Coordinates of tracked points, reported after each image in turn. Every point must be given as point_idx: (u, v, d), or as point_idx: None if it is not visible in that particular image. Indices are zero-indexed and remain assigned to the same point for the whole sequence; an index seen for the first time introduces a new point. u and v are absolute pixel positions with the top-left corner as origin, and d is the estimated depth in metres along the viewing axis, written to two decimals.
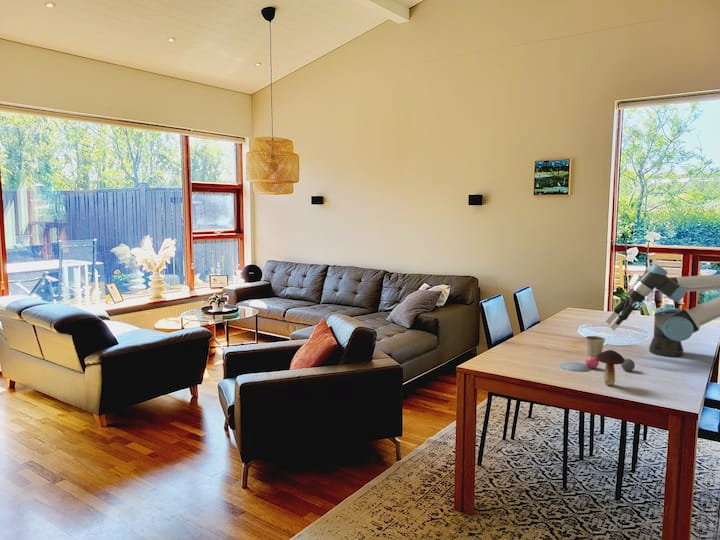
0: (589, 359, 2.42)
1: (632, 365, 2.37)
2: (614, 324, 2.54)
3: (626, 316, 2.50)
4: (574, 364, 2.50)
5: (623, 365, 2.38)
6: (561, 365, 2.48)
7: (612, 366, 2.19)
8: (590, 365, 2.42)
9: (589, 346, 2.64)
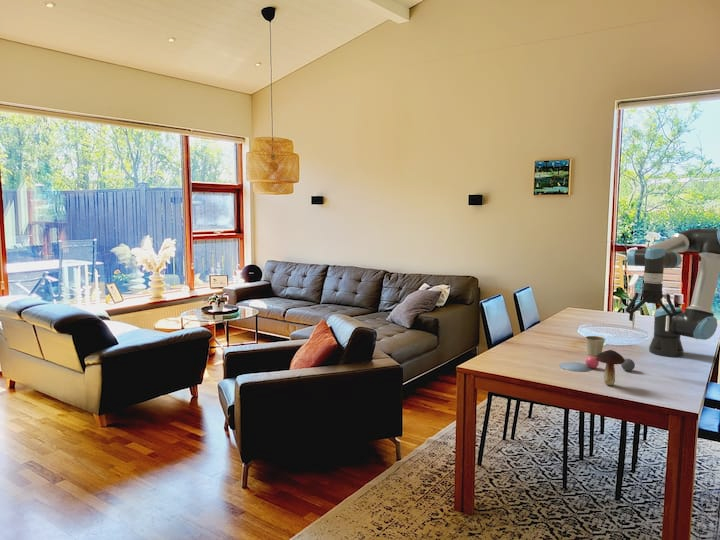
0: (589, 359, 2.42)
1: (632, 365, 2.37)
2: None
3: None
4: (574, 364, 2.50)
5: (623, 365, 2.38)
6: (561, 365, 2.48)
7: (612, 366, 2.19)
8: (590, 365, 2.42)
9: (589, 346, 2.64)
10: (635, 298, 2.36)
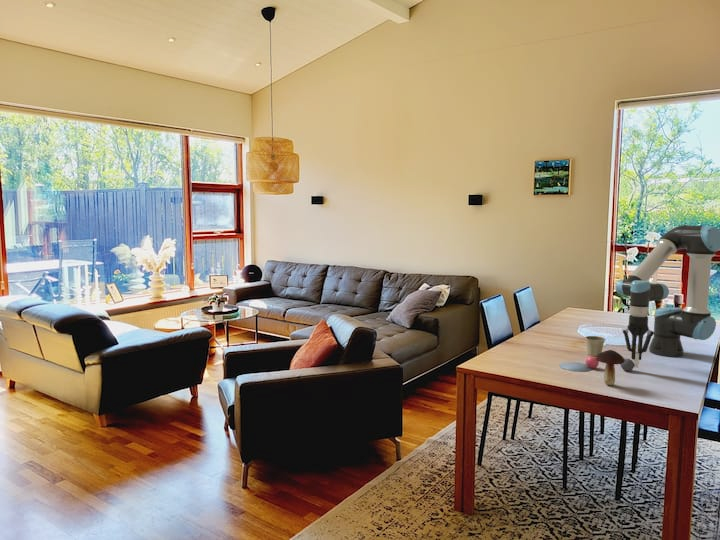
0: (589, 359, 2.42)
1: (631, 365, 2.37)
2: None
3: None
4: (574, 364, 2.50)
5: (622, 365, 2.39)
6: (561, 365, 2.48)
7: (612, 366, 2.19)
8: (590, 365, 2.42)
9: (589, 346, 2.64)
10: (626, 335, 2.37)
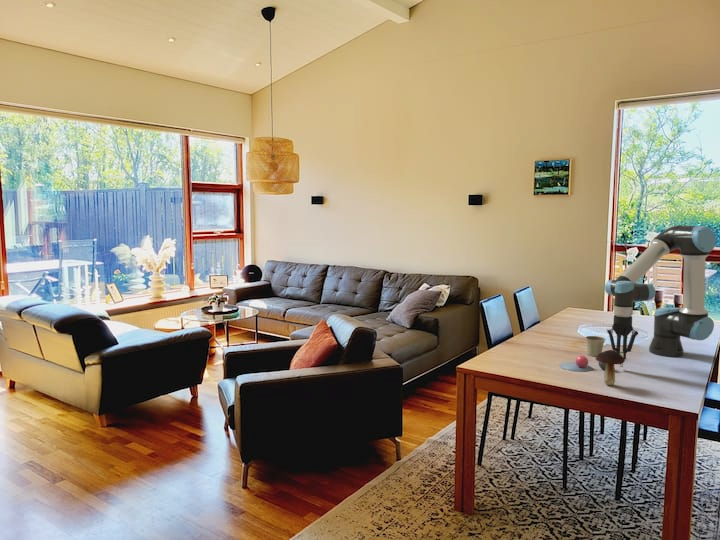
0: (578, 365, 2.44)
1: (602, 366, 2.40)
2: None
3: None
4: (574, 364, 2.50)
5: None
6: (561, 365, 2.48)
7: (612, 366, 2.19)
8: (584, 365, 2.43)
9: (589, 346, 2.64)
10: (611, 335, 2.39)
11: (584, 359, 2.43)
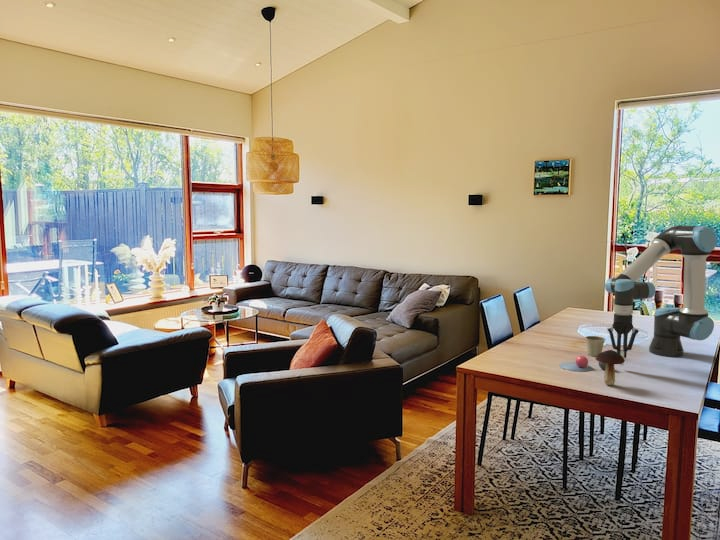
0: (578, 365, 2.44)
1: (602, 366, 2.40)
2: None
3: None
4: (574, 364, 2.50)
5: None
6: (561, 365, 2.48)
7: (612, 366, 2.19)
8: (584, 365, 2.43)
9: (589, 346, 2.64)
10: (611, 334, 2.39)
11: (584, 359, 2.43)
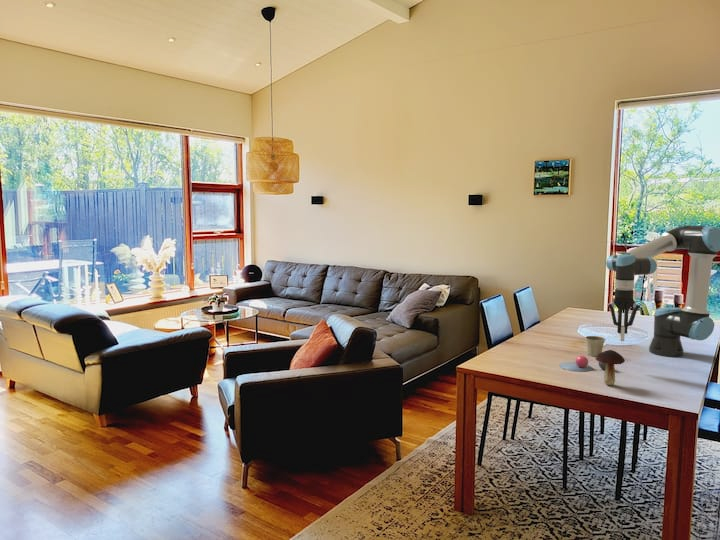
0: (578, 365, 2.44)
1: (602, 366, 2.40)
2: None
3: None
4: (574, 364, 2.50)
5: None
6: (561, 365, 2.48)
7: (612, 366, 2.19)
8: (584, 365, 2.43)
9: (589, 346, 2.64)
10: (612, 309, 2.37)
11: (584, 359, 2.43)
